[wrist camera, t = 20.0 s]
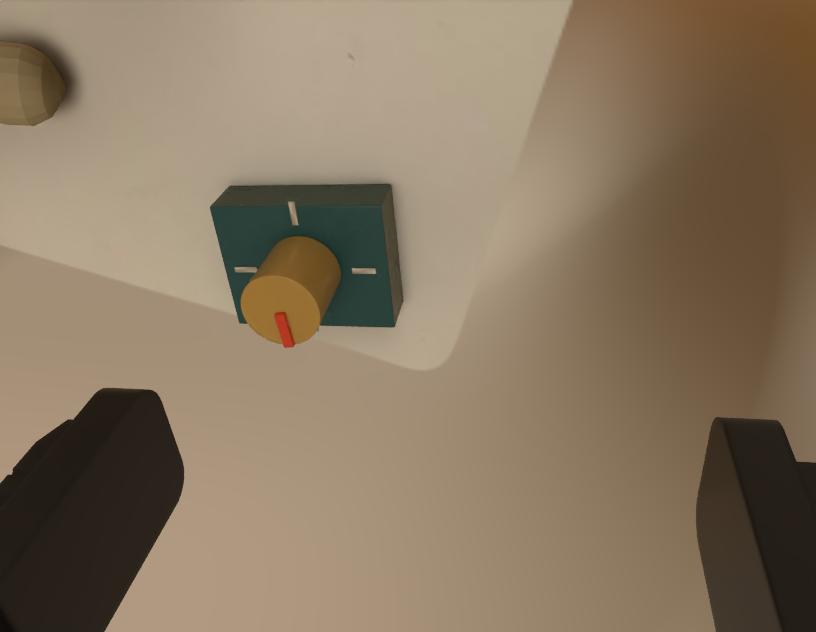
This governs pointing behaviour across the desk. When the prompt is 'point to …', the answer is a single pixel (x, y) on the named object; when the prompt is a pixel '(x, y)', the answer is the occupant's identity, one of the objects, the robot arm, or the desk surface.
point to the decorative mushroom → (27, 85)
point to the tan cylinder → (291, 291)
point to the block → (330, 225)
